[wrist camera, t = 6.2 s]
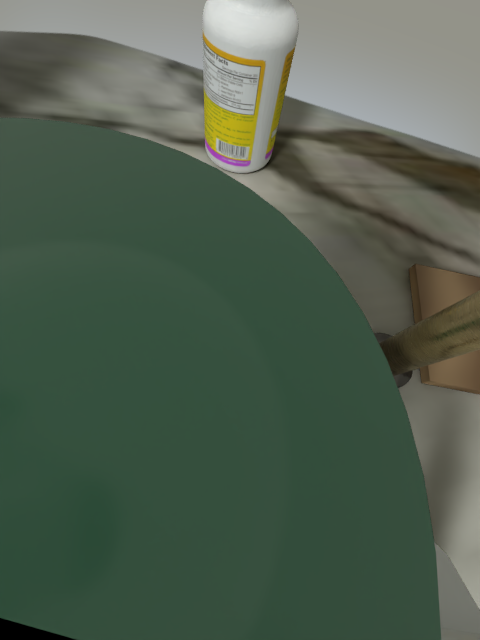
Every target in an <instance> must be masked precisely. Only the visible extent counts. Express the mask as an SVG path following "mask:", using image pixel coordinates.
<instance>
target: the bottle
mask: <svg viewBox="0 0 480 640" xmlns="http://www.w3.org/2000/svg"><path fill="white" fill-rule="evenodd" d="M0 640H441V626H440V609H439V593H438V577H437V560H436V550H435V544H434V537H433V531H432V525H431V518H430V512H429V506H428V499H427V493H426V487H425V481H424V475H423V471H422V468H421V464H420V460H419V456H418V452H417V449H416V445H415V441H414V437H413V434H412V430H411V426H410V422H409V418H408V415H407V411H406V409H405V406H404V403H403V401H402V398H401V395H400V393H399V390H398V388H397V385H396V382H395V380H394V377H393V374H392V372H391V369H390V367H389V364H388V361H387V359H386V357H385V355H384V353H383V351H382V349H381V347H380V345H379V343H378V341H377V339H376V337H375V335H374V333H373V331H372V329H371V327H370V325H369V323H368V321H367V319H366V317H365V315H364V313H363V312H362V310H361V309H360V307H359V306H358V304H357V303H356V301H355V300H354V298H353V297H352V295H351V293H350V292H349V290H348V289H347V287H346V286H345V284H344V283H343V281H342V280H341V278H340V277H339V275H338V274H337V273H336V271H335V270H334V269H333V268H332V267H331V265H330V264H329V263H328V262H327V261H326V259H325V258H324V257H323V256H322V255H321V253H320V252H319V251H318V250H317V249H316V247H315V246H314V245H313V244H312V242H311V241H310V240H309V239H308V238H307V237H306V236H305V235H304V234H303V233H301V232H300V231H299V230H298V229H297V228H296V227H295V226H294V225H293V224H292V223H291V222H290V221H289V220H288V219H287V218H286V217H285V216H284V215H283V214H282V213H281V212H279V211H278V210H277V209H275V208H274V207H273V206H272V205H270V204H269V203H268V202H266V201H265V200H264V199H262V198H261V197H260V196H259V195H257V194H256V193H255V192H253V191H252V190H251V189H249V188H248V187H246V186H244V185H243V184H241V183H240V182H238V181H236V180H235V179H233V178H231V177H230V176H228V175H226V174H225V173H223V172H222V171H220V170H218V169H217V168H214V167H212V166H210V165H208V164H206V163H204V162H202V161H200V160H198V159H196V158H194V157H192V156H189V155H187V154H185V153H183V152H181V151H178V150H175V149H172V148H170V147H167V146H164V145H161V144H159V143H156V142H153V141H150V140H148V139H144V138H140V137H137V136H133V135H129V134H125V133H122V132H118V131H114V130H110V129H105V128H100V127H94V126H88V125H83V124H77V123H71V122H63V121H52V120H41V119H30V118H0Z"/></svg>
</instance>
